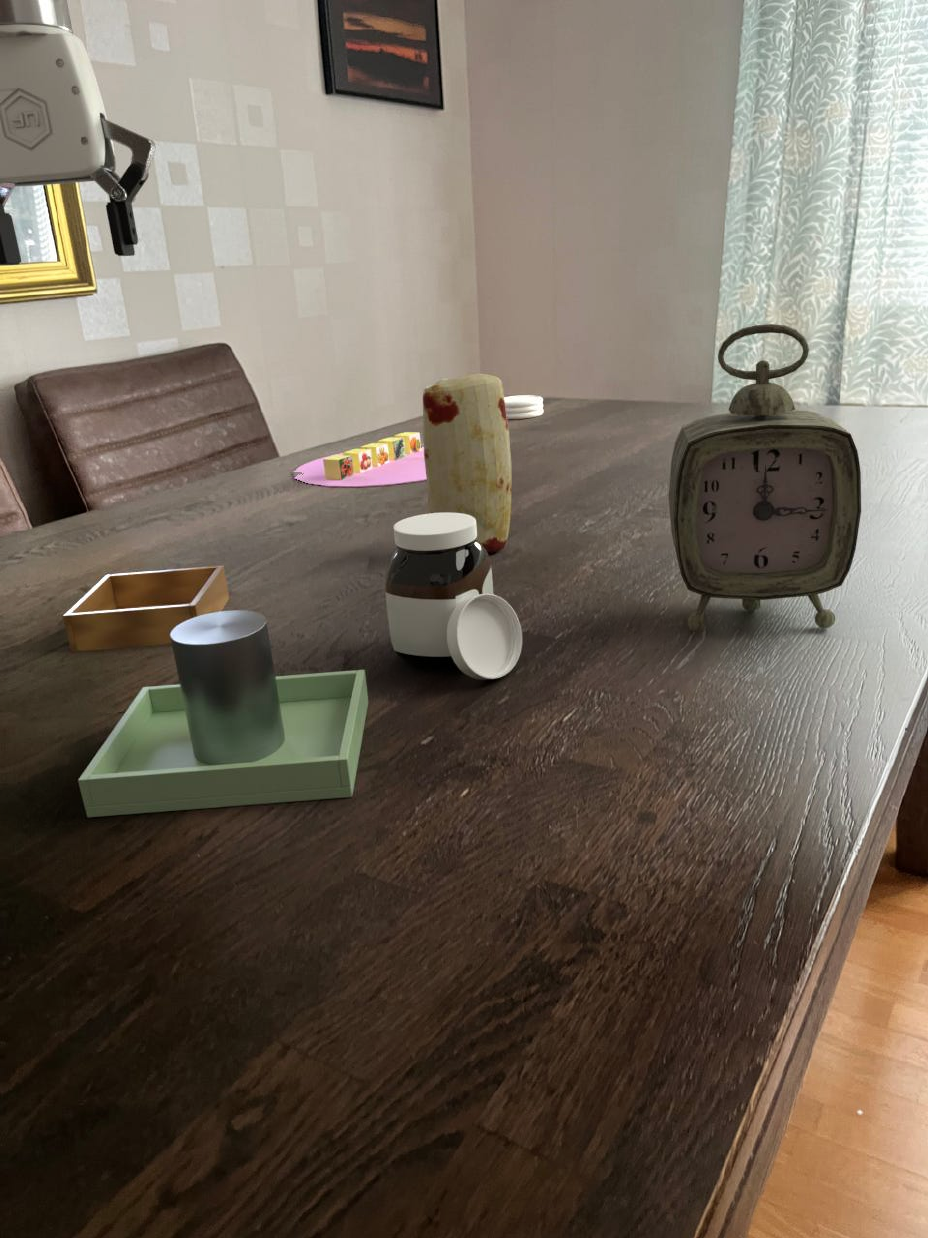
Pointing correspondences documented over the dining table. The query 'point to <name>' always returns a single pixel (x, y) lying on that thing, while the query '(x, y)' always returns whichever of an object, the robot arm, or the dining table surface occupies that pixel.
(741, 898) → the dining table surface
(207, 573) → the wooden box
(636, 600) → the dining table surface
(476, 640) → the spread jar
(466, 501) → the food model
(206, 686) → the can
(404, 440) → the platter
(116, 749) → the tray
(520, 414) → the white short ridged cylinder
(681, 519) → the tabletop clock
